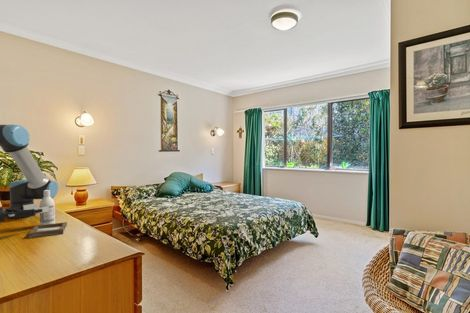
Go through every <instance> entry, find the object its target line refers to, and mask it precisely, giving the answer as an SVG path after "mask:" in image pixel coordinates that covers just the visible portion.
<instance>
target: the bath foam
mask: <svg viewBox="0 0 470 313" xmlns="http://www.w3.org/2000/svg"><path fill="white" fill-rule="evenodd" d="M47 206H49V211H48V212H43V213H39V225H46V224H55V223H56V204H55V201H54V199H53V198H51V197H50V190H44V197H43V199H40V202H39V207H38V208H41V207H47Z"/></svg>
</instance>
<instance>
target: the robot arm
mask: <svg viewBox="0 0 470 313" xmlns="http://www.w3.org/2000/svg"><path fill="white" fill-rule="evenodd" d="M30 137H31V136H30V133H29V131H28V129H26V128H25V127H24V126H22V125H19V124H13V123H12V124H0V148H1V149H2V151H3V152H4V153H6V154H9V155H10V156H11V158H12V160H13V161H14V163H15V164H16V166H17V167H18V168H19V170H20V172H21V174H23V176H24V177H25V179H21V180H20V179H19V180H15V181H11V182H10V183H9V207H8V208H3V207H2V206H0V223H2V222H4V220H5V218H7V219H20V218H28V217H32V216H33V217H34V216H36V215H37V214H40V213H43V212H48V211H49V206H47V207H41V208H39V207H38V205H39V204H38V203H37V202H36V203H35V201H34V200H42V199H43V197H44V190H50V197H51V198H52V199H53V198H55V197H56V195H57V194H58V191H59V185H58V182H56V181H55V180H51V178H50V177H49V176H47V175H45V174H44V173H43V171H42V169H41V167H40V166H39V164H38V163H37V161H36V159H35V158H34V156H33V155H32V153H31V151H30V149H29V148H28V146H29V143H30V141H31V140H30V139H31V138H30Z"/></svg>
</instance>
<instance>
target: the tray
mask: <svg viewBox="0 0 470 313" xmlns="http://www.w3.org/2000/svg"><path fill="white" fill-rule="evenodd" d="M67 227H68V222H66V221H65V222H58V223H56V222H55V224H46V225H40V224H39V225H35V226H34V227H33V228H32V229H31V230H30V231H29V232H28V239H34V238H43V237H50V236H57V235H63V234H65V232H66V229H67Z"/></svg>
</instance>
